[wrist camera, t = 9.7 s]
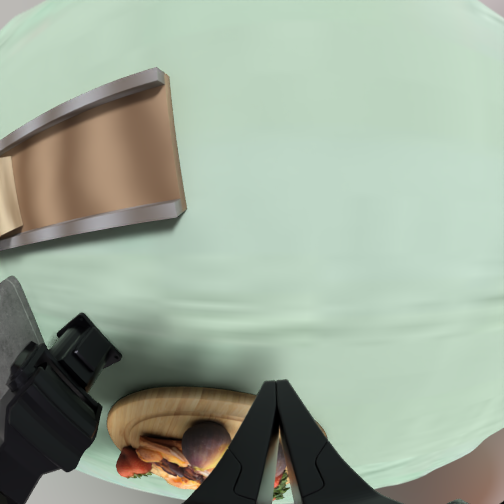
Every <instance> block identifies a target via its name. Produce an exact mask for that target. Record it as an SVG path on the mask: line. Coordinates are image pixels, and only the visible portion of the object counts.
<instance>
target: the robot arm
mask: <svg viewBox="0 0 504 504" xmlns="http://www.w3.org/2000/svg"><path fill="white" fill-rule="evenodd" d="M57 336H58V338H59V339H58V341H57V342H56V343H55V344H54V345H53V346H52V348H51V349H50V350H48V349H47V346H46V345H45V343H44V342H43V343H41V344H40V345H38V344H36V343H35V342H33V341H30V342H29V343H28V344H27V345H26V346H25V347H24V349H23V350H22V351H21V352H20V353H19V355H18V356H17V357H16V359H15V360H14V362H13V364H12V365H11V367H10V376H9V378H8V380H7V382H6V385H7V387H8V388H9V389H8V391H7V392H6V393H5V395H4V396H3V397H2V399H1V400H0V504H25V503H26V502H27V500H28V498H29V496H30V495H31V493H32V491H33V489H34V488H35V486H36V484H37V483H38V481H39V479H40V478H41V477H42V475H43V474H47V473H50V472H53V471H56V470H59V469H62V470H64V471H65V472H70V471H72V470H73V469H75V468H76V467H77V465H78V463H79V460H80V458H81V456H82V455H83V453H84V451H85V450H86V449H87V448H89V447H90V445H91V444H92V443H93V441H94V440H95V438H96V435H97V430H98V425H99V420H100V416H101V411H102V406H101V405H100V404H99V403H97V402H96V401H95V400H94V399H93V398H92V397H91V396H90V395H89V394H88V392H89V391H90V389H91V387H92V386H93V384H94V382H95V381H96V379H97V377H98V376H99V374H100V372H101V371H102V369H104V368H106V367H108V366H110V365H112V364H114V363H116V362H118V361H120V360H121V358H122V355H121V354H120V353H119V352H118V351H117V350H116V349H115V348H114V346H113V345H112V344H111V343H110V342H109V341H108V340H107V339H106V338H105V337H104V336H103V335H102V334H101V332H100V331H99V330H98V329H97V328H96V327H95V326H94V324H93V323H92V322H91V321H90V320H89V319H88V317H87V316H86V315H85V314H84V313H79V314H78V315H77V316H76V317H75V318H73V319H72V320H71V321H70V322H69V323H68V324H66V325H65V326H64V327H63V328H62V329H61V330H59V331H58V333H57ZM279 429H280V437H281V442H282V447H283V452H284V456H285V461H286V466H287V471H288V476H289V480H290V485H291V490H292V495H293V499H294V504H403V503H401V502H398V501H395V500H393V499H390V498H388V497H386V496H383V495H381V494H380V493H378V492H377V491H375V490H374V489H373V488H372V487H371V486H369V485H368V484H367V483H366V482H365V481H364V480H363V479H362V478H361V477H360V476H359V475H358V474H357V473H356V472H355V471H354V470H353V469H352V468H351V467H350V466H349V465H348V464H347V463H346V462H345V461H344V460H343V459H342V458H341V456H340V455H339V454H338V452H337V451H336V450H335V449H334V447H333V446H332V444H331V443H330V442H329V441H328V439H327V437H326V436H325V434H324V433H323V432H322V430H321V429H320V427H319V426H318V424H317V423H316V421H315V420H314V419H313V417H312V416H311V414H310V413H309V411H308V410H307V408H306V407H305V405H304V404H303V402H302V401H301V399H300V398H299V396H298V395H297V393H296V392H295V390H294V389H293V387H292V386H291V384H290V383H289V381H288V380H287V379H283V380H277V381H274V380H272V381H265V382H264V383H263V385H262V387H261V389H260V391H259V392H258V394H257V396H256V398H255V400H254V402H253V404H252V405H251V407H250V409H249V411H248V413H247V415H246V416H245V418H244V420H243V422H242V424H241V425H240V427H239V429H238V431H237V432H236V434H235V436H234V438H233V439H232V441H231V443H230V444H229V446H228V449H226V451H225V453H224V454H223V456H222V458H221V459H220V461H219V462H218V464H217V465H216V466H215V468H214V469H213V470H212V472H211V473H210V474H209V475H208V477H207V478H206V479H205V480H204V481H203V482H202V483H201V485H200V486H199V487H198V488H197V489H196V490H195V491H194V492H193V493H192V495H191V496H190V497H189V498H188V499H187V500H186V501H185V502H184V503H182V504H272V499H273V491H274V482H275V473H276V464H277V455H278V444H279ZM447 504H469V503H467V502H465V501H463V500H461V499H457V500H454V501H452V502H449V503H447ZM500 504H504V501H503V502H501V503H500Z"/></svg>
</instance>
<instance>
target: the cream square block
mask: <svg viewBox="0 0 504 504" xmlns="http://www.w3.org/2000/svg"><path fill="white" fill-rule="evenodd" d="M22 225H23V223H22V218H21V214H20V209H19V205H18V200H17V194H16V188H15V182H14V176H13V168H12V160H11V156H8V157H2V158H0V236H1V235H3V234H5V233H7V232H9V231H11V230H13V229H15V228H18V227H20V226H22Z"/></svg>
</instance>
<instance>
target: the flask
mask: <svg viewBox="0 0 504 504" xmlns="http://www.w3.org/2000/svg"><path fill="white" fill-rule="evenodd" d="M30 341H33V342H35V343H36V344H38V345H40V344H41V343H43V342H44V340H43V338H42V335H41V333H40V330H39V328H38V325H37V323H36V320H35V318H34V315H33V313H32V311H31V308H30V306H29V303H28V301H27V299H26V296H25V294H24V292H23V289H22V287H21V285H20V283H19V281H18V280H17V279H16V278H15V277H14V276H10V277H8V278H7V279H5V280H4V281H2V282H1V283H0V400H1V399H2V397H3V396H4V395H5V393H6V392H7V391H8V389H9V388H8V387H7V385H6V382H7V380H8V378H9V376H10V367H11V365H12V364H13V362H14V360H15V359H16V357H17V356H18V355H19V353H20V352H21V351H22V350H23V349H24V347H25V346H26V345H27V344H28V343H29V342H30Z"/></svg>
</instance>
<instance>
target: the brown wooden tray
mask: <svg viewBox="0 0 504 504" xmlns="http://www.w3.org/2000/svg"><path fill="white" fill-rule="evenodd" d="M8 156H11V160H12V168H13V176H14V182H15V188H16V194H17V200H18V205H19V209H20V214H21V218H22V223H23V225H22V226H20V227H18V228H15V229H13V230H11V231H9V232H7V233H5V234H3V235H1V236H0V251H1V250H5V249H10V248H14V247H18V246H23V245H27V244H32V243H36V242H41V241H45V240H50V239H55V238H60V237H65V236H70V235H75V234H80V233H85V232H91V231H96V230H102V229H107V228H113V227H119V226H125V225H131V224H137V223H143V222H149V221H156V220H162V219H169V218H176V217H178V216H179V215H180V214H181V213H183V212H184V211H185V210H186V209H187V206H186V200H185V194H184V188H183V182H182V175H181V169H180V162H179V155H178V148H177V141H176V133H175V126H174V117H173V109H172V100H171V90H170V80H169V76H168V75H167V74H165V73H164V72H163V71H161V70H160V69H159V68H157V67H155V68H152V69H148V70H145V71H142V72H139V73H136V74H133V75H130V76H127V77H124V78H121V79H118V80H116V81H113V82H110V83H108V84H105V85H103V86H100V87H98V88H95V89H93V90H91V91H88V92H86V93H84V94H81V95H79V96H77V97H75V98H73V99H71V100H69V101H66V102H64V103H62V104H60V105H58V106H57V107H55V108H53V109H51V110H49V111H47V112H45V113H43V114H42V115H40V116H38V117H36V118H35V119H33V120H31V121H29V122H28V123H26V124H25V125H23V126H21V127H20V128H18V129H17V130H15V131H13V132H12V133H10V134H9V135H7V136H6V137H4V138H3V139H2V140H0V158H2V157H8Z"/></svg>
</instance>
